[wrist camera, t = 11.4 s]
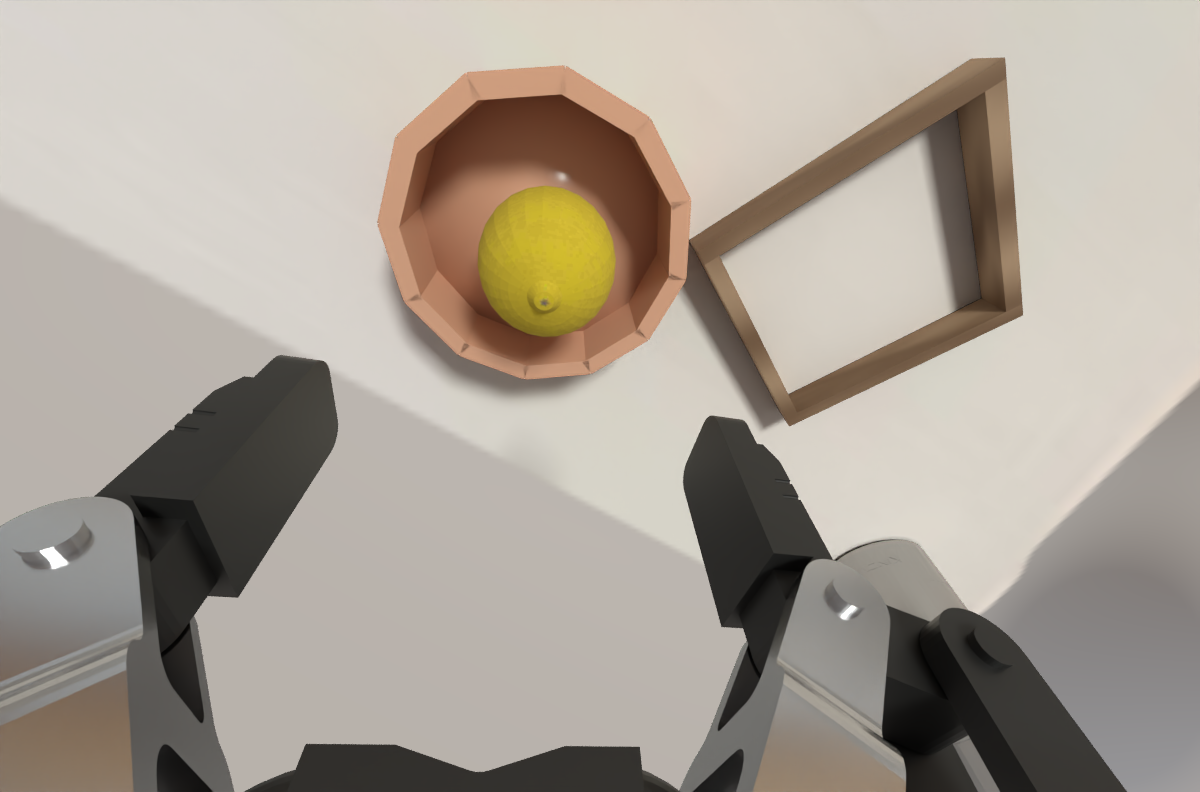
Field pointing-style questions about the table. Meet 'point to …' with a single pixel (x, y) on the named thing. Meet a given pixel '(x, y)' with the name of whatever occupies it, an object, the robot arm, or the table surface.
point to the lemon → (546, 261)
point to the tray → (983, 147)
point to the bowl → (509, 165)
